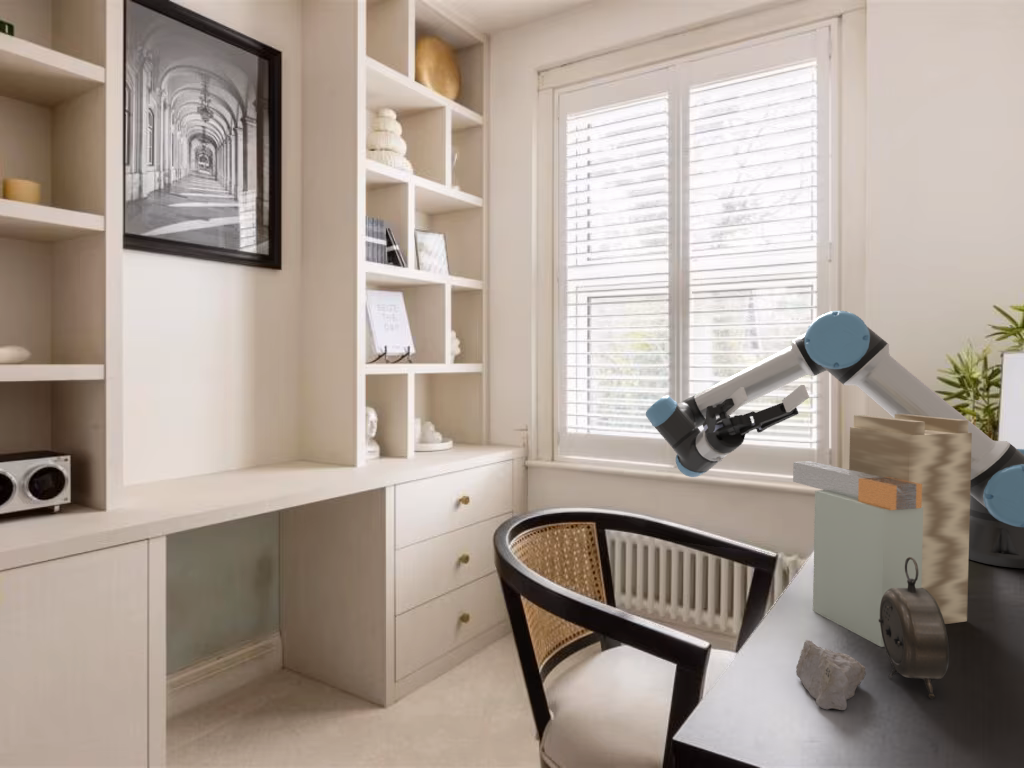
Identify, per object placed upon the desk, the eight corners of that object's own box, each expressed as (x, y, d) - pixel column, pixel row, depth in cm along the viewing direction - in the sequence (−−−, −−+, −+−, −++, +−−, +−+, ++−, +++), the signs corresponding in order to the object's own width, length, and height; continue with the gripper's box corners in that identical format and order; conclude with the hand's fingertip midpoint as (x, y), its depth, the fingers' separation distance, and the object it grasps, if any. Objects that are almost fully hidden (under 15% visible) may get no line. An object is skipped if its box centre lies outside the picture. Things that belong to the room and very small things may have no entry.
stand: (903, 594, 115) (907, 413, 113) (966, 621, 103) (972, 420, 102) (846, 601, 112) (850, 415, 110) (905, 629, 100) (910, 422, 99)
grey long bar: (814, 480, 116) (815, 460, 115) (921, 507, 94) (922, 484, 94) (788, 482, 114) (788, 462, 114) (890, 510, 93) (890, 486, 93)
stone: (880, 721, 75) (881, 671, 75) (804, 710, 78) (804, 662, 77) (861, 680, 85) (862, 636, 84) (794, 672, 87) (794, 629, 87)
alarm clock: (951, 705, 78) (954, 572, 78) (902, 700, 79) (904, 569, 79) (914, 663, 89) (917, 546, 88) (871, 660, 90) (873, 544, 89)
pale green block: (848, 606, 109) (850, 488, 109) (920, 641, 96) (923, 506, 95) (813, 610, 108) (815, 490, 107) (881, 646, 94) (884, 509, 93)
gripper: (775, 450, 144) (837, 407, 126) (673, 457, 137) (723, 412, 119) (763, 420, 147) (822, 373, 129) (664, 425, 140) (711, 376, 122)
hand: (775, 392), depth 124 cm, fingers open, 13 cm apart
